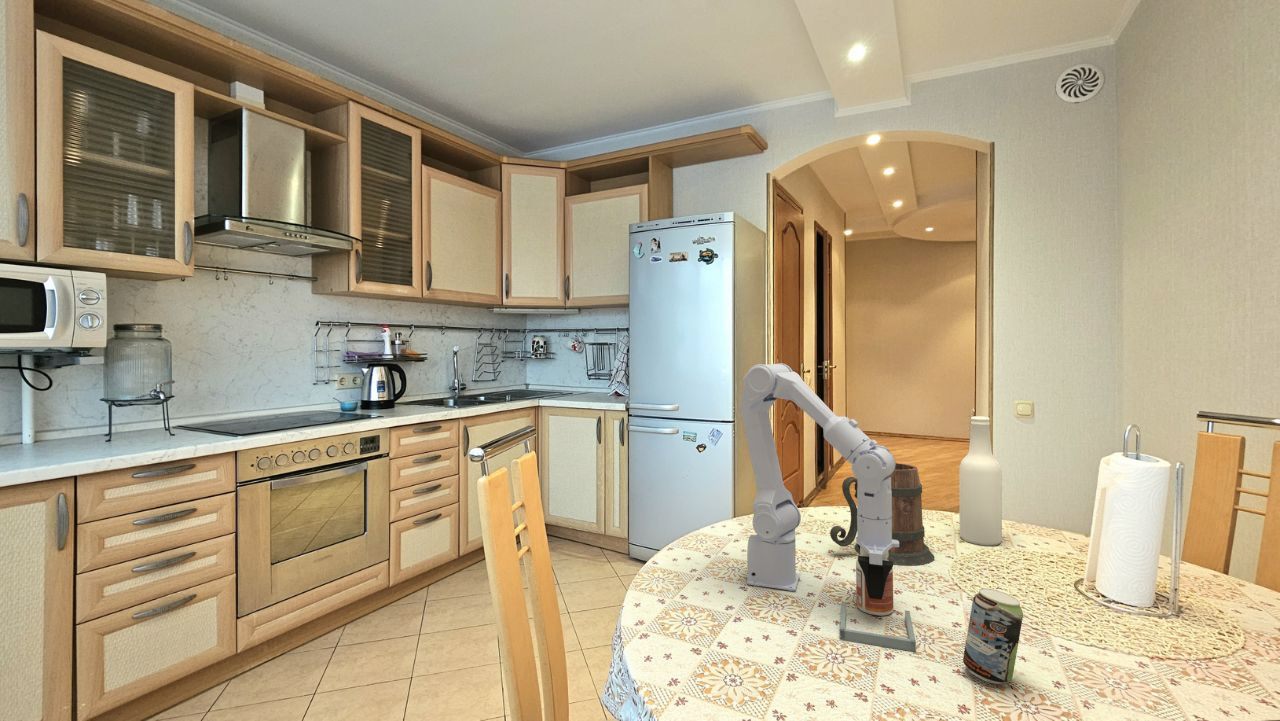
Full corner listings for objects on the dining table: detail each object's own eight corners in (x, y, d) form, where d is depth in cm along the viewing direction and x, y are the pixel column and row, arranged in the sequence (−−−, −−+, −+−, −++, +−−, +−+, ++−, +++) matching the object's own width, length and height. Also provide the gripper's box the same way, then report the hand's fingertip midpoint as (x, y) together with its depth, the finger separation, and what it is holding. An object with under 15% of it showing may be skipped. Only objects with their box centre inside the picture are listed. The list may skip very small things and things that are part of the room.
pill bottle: (900, 610, 99) (900, 549, 99) (879, 620, 96) (879, 556, 96) (869, 598, 104) (869, 539, 104) (849, 606, 101) (848, 546, 101)
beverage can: (953, 666, 82) (953, 585, 82) (1000, 663, 83) (1000, 582, 82) (983, 692, 76) (983, 604, 75) (1034, 688, 76) (1034, 602, 76)
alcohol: (1010, 546, 131) (1010, 419, 130) (972, 546, 131) (972, 419, 130) (987, 534, 139) (987, 414, 139) (952, 534, 140) (951, 415, 139)
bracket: (840, 639, 90) (840, 630, 90) (841, 609, 100) (841, 601, 100) (915, 651, 86) (915, 642, 86) (909, 619, 96) (909, 610, 96)
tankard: (904, 537, 138) (903, 457, 137) (952, 563, 121) (952, 471, 121) (815, 543, 134) (814, 461, 134) (852, 570, 118) (851, 476, 117)
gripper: (902, 529, 92) (902, 611, 92) (895, 506, 105) (896, 577, 105) (856, 525, 94) (856, 604, 94) (855, 503, 108) (856, 572, 108)
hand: (874, 590), depth 100 cm, fingers open, 6 cm apart
